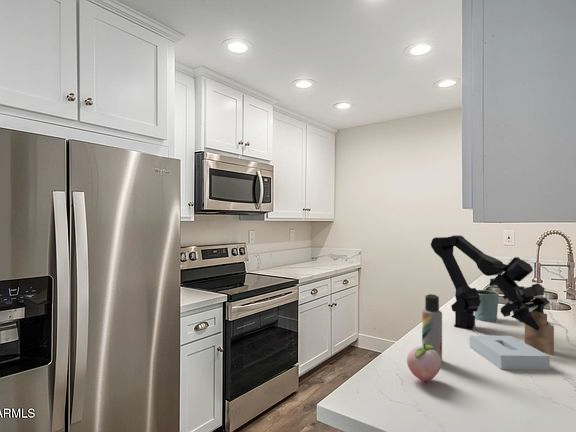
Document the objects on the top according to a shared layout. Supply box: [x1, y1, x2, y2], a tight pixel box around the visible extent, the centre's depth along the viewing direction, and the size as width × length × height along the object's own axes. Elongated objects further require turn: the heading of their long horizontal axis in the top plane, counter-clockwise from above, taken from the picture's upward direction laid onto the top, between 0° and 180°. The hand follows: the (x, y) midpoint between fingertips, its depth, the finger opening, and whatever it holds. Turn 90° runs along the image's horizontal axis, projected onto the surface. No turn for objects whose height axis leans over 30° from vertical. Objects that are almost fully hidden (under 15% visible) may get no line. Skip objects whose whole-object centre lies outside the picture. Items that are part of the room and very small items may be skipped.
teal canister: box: [474, 289, 500, 323], centre depth 155 cm, size 10×10×12 cm
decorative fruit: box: [406, 344, 442, 383], centre depth 95 cm, size 9×8×10 cm
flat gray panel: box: [469, 334, 551, 371], centre depth 111 cm, size 18×14×4 cm
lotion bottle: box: [421, 293, 443, 363], centre depth 109 cm, size 6×6×20 cm
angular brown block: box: [524, 311, 555, 356], centre depth 118 cm, size 8×2×12 cm, turn 25°
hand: (543, 328), depth 117 cm, fingers open, 5 cm apart
